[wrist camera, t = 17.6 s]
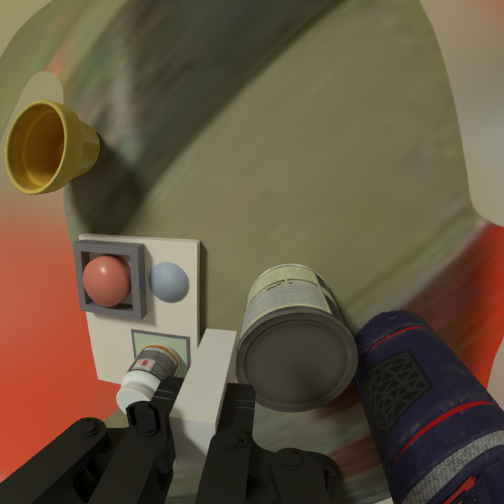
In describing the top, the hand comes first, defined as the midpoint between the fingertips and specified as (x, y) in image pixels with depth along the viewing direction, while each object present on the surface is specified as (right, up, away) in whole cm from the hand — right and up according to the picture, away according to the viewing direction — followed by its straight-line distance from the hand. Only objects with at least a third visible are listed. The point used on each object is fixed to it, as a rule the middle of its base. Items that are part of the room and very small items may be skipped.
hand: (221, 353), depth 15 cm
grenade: (+21, -8, +24) cm, 32 cm away
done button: (-16, +2, +22) cm, 27 cm away
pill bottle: (-10, -9, +24) cm, 28 cm away
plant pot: (-21, +18, +20) cm, 34 cm away
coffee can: (+6, -1, +23) cm, 24 cm away
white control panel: (-13, -4, +25) cm, 28 cm away
